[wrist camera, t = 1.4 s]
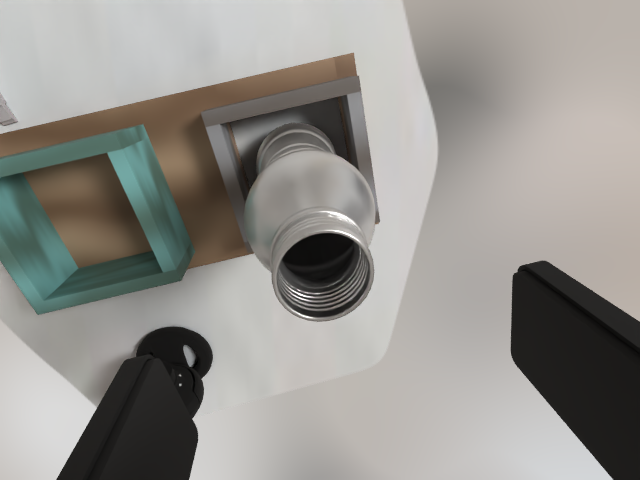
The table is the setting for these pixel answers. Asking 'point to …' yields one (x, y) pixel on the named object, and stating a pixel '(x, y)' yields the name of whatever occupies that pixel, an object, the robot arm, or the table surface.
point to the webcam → (180, 361)
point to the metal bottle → (311, 223)
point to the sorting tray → (148, 185)
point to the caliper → (6, 113)
